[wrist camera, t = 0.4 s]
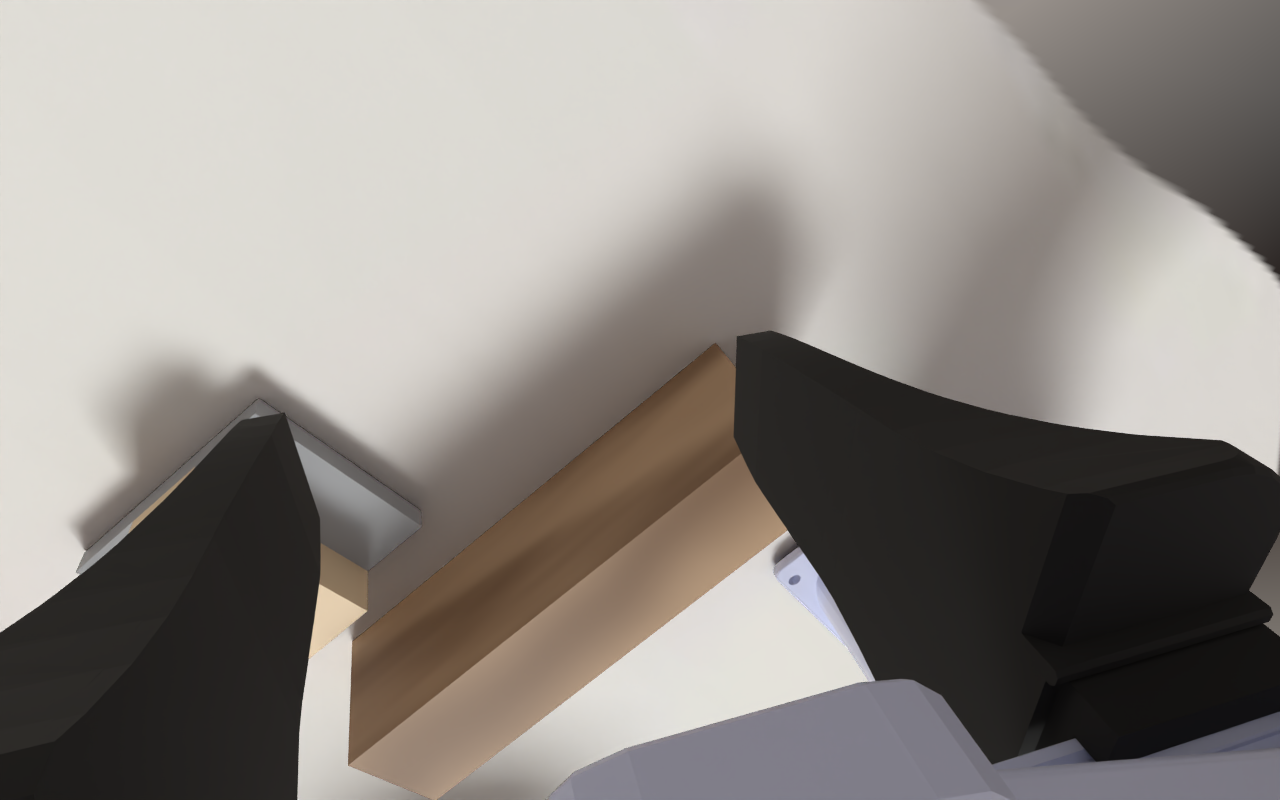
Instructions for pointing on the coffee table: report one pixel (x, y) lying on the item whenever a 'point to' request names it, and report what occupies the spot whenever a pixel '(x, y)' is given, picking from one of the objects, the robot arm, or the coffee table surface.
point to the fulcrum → (349, 525)
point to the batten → (560, 587)
